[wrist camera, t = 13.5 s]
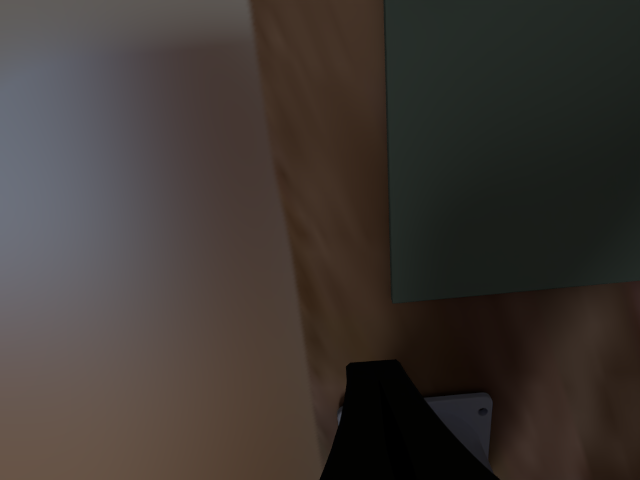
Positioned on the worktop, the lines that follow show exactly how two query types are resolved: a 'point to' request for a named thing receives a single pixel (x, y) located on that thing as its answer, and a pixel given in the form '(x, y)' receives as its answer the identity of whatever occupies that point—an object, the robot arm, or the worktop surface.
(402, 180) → the pitch mat
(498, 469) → the worktop surface
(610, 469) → the worktop surface
